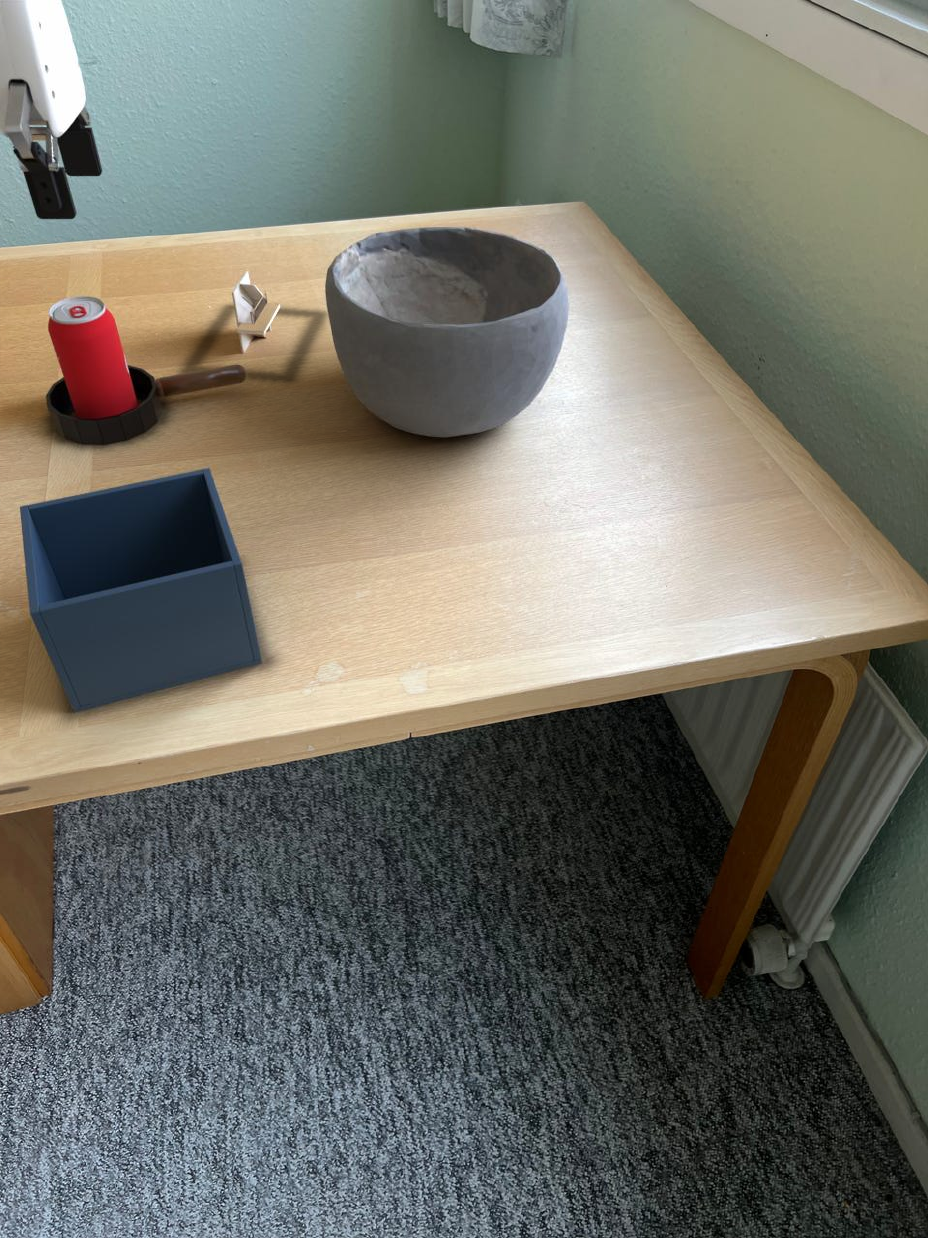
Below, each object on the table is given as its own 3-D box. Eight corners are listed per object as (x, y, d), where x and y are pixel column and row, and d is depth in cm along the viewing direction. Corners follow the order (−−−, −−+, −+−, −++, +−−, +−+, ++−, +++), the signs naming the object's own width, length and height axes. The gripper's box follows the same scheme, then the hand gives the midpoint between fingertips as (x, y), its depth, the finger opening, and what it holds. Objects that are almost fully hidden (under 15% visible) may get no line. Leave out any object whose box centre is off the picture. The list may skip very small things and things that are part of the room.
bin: (74, 714, 69) (29, 613, 61) (60, 606, 77) (19, 506, 69) (262, 664, 73) (242, 563, 65) (231, 566, 80) (209, 467, 73)
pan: (59, 454, 92) (49, 427, 89) (51, 399, 99) (42, 372, 96) (261, 415, 97) (256, 389, 95) (239, 366, 104) (235, 340, 102)
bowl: (385, 332, 110) (380, 203, 100) (583, 370, 105) (599, 239, 94) (291, 441, 94) (272, 302, 83) (519, 494, 89) (530, 352, 78)
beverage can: (132, 394, 100) (104, 288, 91) (145, 424, 96) (117, 315, 87) (73, 408, 98) (38, 300, 89) (83, 438, 94) (48, 329, 85)
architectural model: (284, 332, 110) (276, 271, 105) (268, 361, 105) (259, 299, 100) (256, 330, 110) (246, 269, 105) (238, 359, 105) (228, 297, 100)
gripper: (-9, -62, 75) (54, 160, 87) (-86, -14, 63) (-1, 236, 75) (85, -61, 76) (134, 160, 88) (26, -13, 63) (92, 236, 76)
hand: (71, 195), depth 81 cm, fingers open, 9 cm apart
